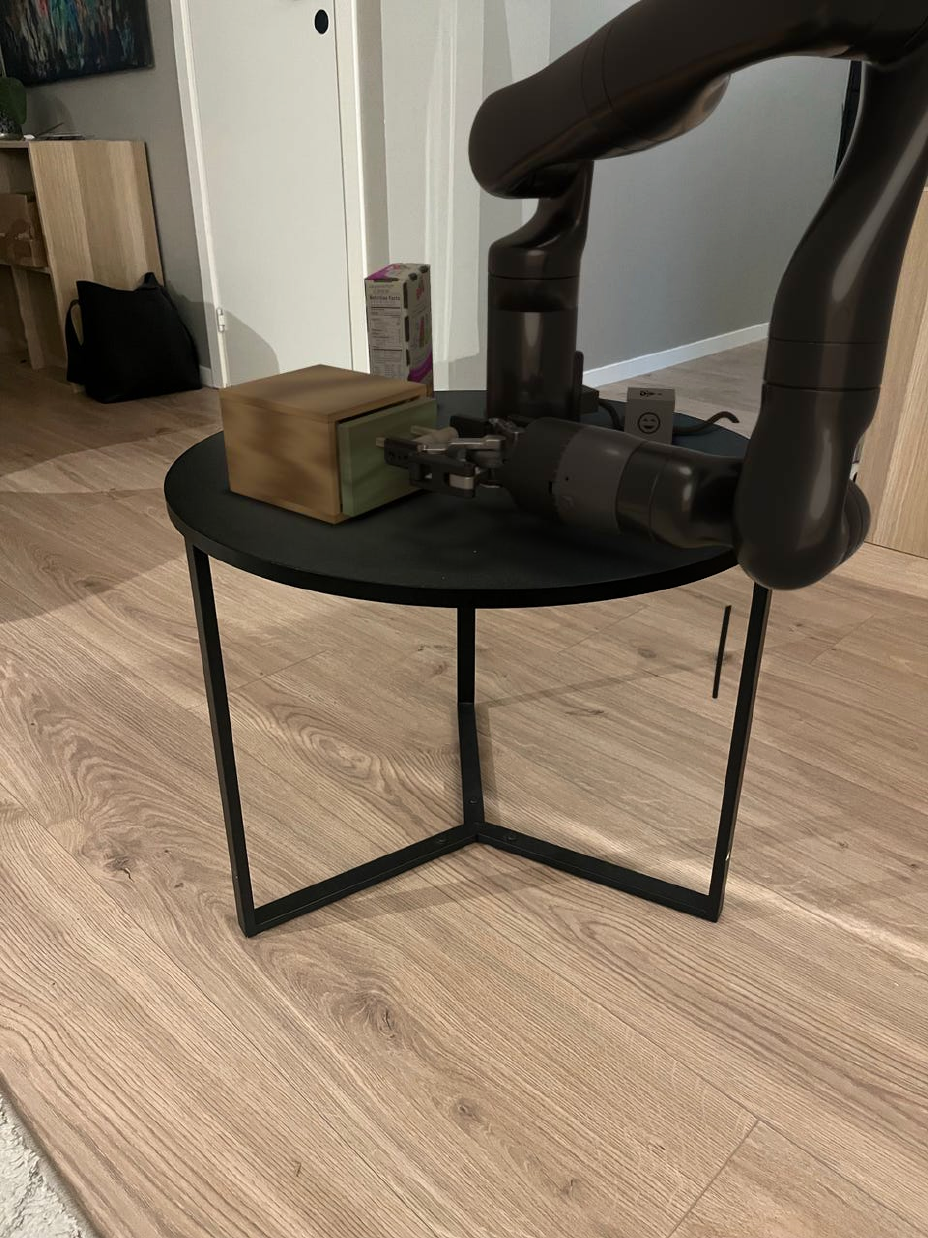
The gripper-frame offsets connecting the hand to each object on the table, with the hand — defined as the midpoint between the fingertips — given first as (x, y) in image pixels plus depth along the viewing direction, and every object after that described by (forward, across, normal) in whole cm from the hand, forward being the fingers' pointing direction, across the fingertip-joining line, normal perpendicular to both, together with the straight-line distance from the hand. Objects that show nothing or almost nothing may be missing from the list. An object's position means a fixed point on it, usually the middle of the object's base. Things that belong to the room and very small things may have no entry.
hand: (420, 437), depth 80 cm
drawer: (+7, 0, +6) cm, 9 cm away
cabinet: (+11, 0, +7) cm, 13 cm away
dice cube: (-5, -32, +7) cm, 33 cm away
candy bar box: (+22, -22, +7) cm, 32 cm away
